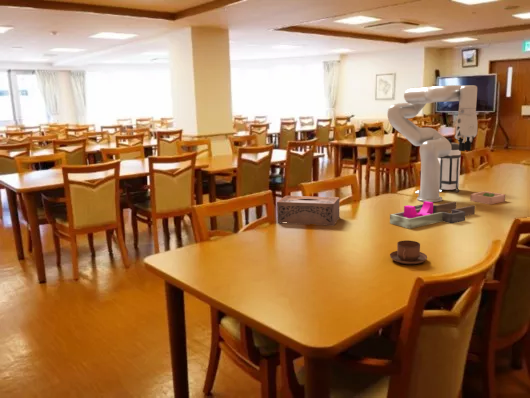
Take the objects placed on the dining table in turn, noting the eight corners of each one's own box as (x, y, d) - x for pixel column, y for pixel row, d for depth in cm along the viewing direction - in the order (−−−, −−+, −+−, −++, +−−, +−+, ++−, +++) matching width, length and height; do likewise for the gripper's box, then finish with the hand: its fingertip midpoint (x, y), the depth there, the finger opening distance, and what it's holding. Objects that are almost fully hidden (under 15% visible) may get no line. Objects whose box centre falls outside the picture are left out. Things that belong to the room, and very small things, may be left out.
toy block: (415, 225, 205) (415, 208, 203) (403, 222, 210) (404, 206, 208) (437, 219, 213) (438, 203, 211) (425, 217, 218) (426, 201, 216)
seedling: (487, 211, 242) (485, 203, 246) (499, 204, 237) (497, 196, 241) (479, 204, 240) (477, 197, 244) (491, 198, 235) (489, 190, 239)
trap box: (381, 221, 213) (381, 212, 212) (445, 207, 233) (445, 199, 232) (418, 231, 195) (419, 221, 194) (484, 216, 215) (484, 207, 214)
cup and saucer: (429, 267, 154) (429, 249, 153) (390, 266, 157) (391, 248, 155) (424, 255, 166) (425, 238, 164) (389, 254, 168) (389, 238, 167)
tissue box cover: (277, 223, 217) (276, 201, 215) (286, 215, 230) (285, 195, 228) (333, 226, 209) (333, 203, 207) (339, 218, 222) (339, 197, 220)
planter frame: (470, 200, 247) (470, 194, 246) (484, 197, 252) (485, 191, 252) (490, 204, 237) (490, 197, 236) (505, 201, 243) (505, 194, 242)
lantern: (426, 190, 278) (428, 138, 272) (447, 187, 285) (449, 136, 279) (449, 194, 263) (452, 140, 257) (470, 191, 269) (473, 138, 263)
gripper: (461, 113, 219) (458, 152, 223) (485, 111, 226) (483, 150, 230) (448, 112, 226) (446, 151, 230) (472, 111, 233) (470, 148, 237)
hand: (464, 150), depth 230 cm, fingers open, 3 cm apart
